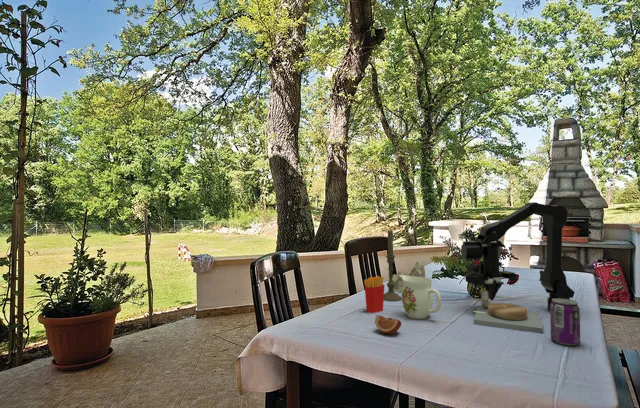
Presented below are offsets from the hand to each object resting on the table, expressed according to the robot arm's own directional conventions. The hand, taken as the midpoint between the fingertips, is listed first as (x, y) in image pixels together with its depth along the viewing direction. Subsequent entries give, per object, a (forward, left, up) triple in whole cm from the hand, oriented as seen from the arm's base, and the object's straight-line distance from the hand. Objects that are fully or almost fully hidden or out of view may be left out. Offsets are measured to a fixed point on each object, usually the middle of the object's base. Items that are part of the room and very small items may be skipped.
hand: (491, 300), depth 136 cm
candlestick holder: (+40, -2, -4) cm, 40 cm away
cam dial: (-3, +7, -2) cm, 9 cm away
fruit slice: (+28, +40, -5) cm, 49 cm away
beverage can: (-20, +25, -4) cm, 33 cm away
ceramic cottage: (+36, -22, -5) cm, 42 cm away
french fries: (+40, +19, -4) cm, 44 cm away
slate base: (-5, +9, -4) cm, 11 cm away
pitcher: (+23, +19, -4) cm, 30 cm away
